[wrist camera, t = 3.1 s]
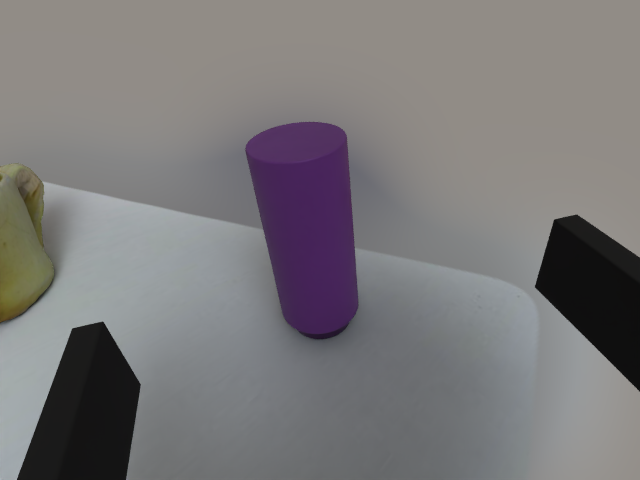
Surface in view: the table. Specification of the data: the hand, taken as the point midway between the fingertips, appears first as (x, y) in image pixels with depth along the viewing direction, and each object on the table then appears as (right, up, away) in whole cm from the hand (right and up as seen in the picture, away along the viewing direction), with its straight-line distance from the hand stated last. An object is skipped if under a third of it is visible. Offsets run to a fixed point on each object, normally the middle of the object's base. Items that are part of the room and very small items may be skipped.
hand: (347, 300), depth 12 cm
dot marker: (-1, -3, +12) cm, 12 cm away
